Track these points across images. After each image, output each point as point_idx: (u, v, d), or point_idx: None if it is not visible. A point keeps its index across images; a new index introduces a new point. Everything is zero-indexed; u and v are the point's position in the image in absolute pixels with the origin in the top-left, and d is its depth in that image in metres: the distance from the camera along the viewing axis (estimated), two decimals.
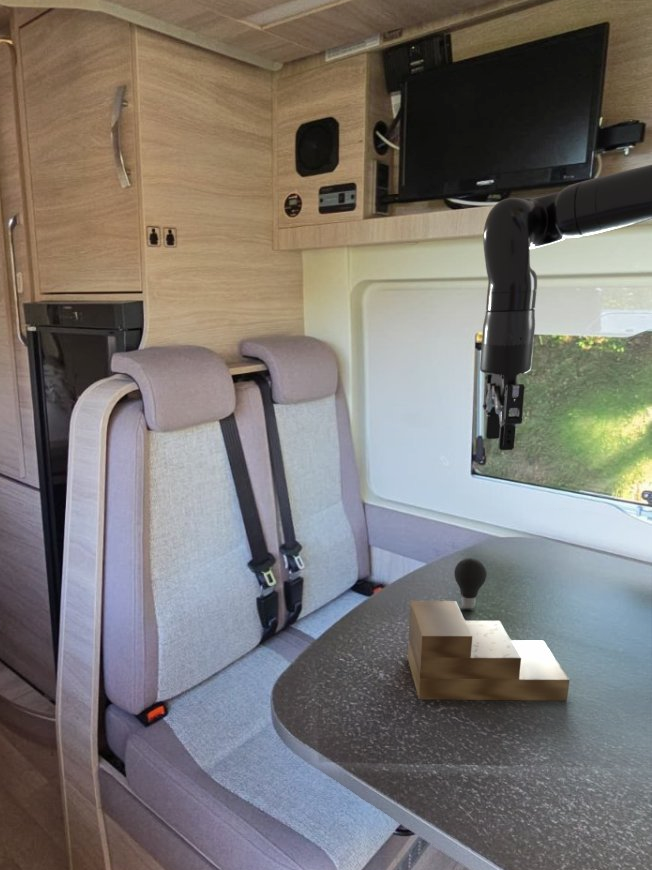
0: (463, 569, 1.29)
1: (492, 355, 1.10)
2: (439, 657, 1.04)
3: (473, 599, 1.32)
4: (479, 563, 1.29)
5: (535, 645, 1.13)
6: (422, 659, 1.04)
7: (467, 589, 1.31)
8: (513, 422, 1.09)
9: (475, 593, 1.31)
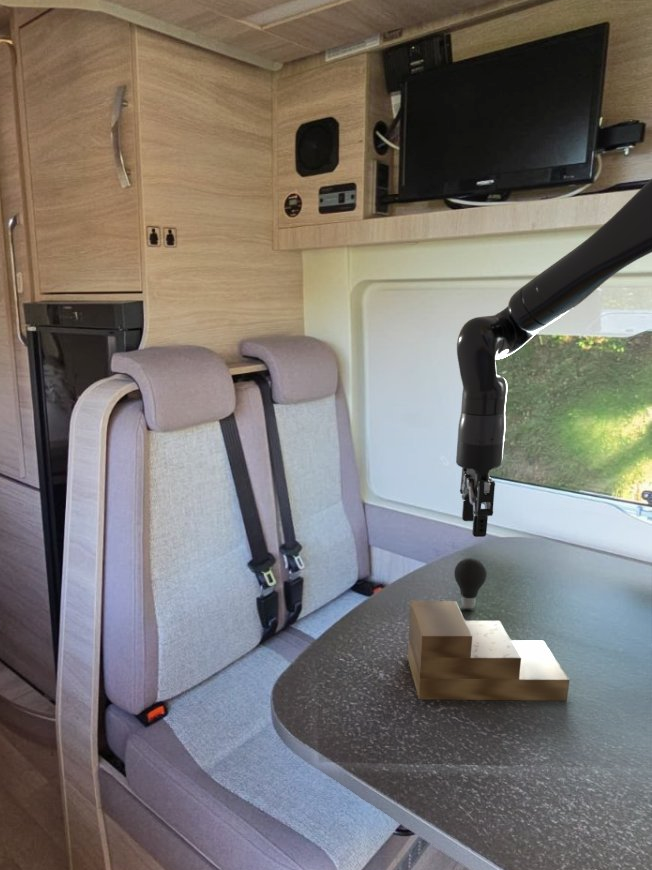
0: (463, 569, 1.29)
1: (467, 452, 1.21)
2: (439, 657, 1.04)
3: (473, 599, 1.32)
4: (479, 563, 1.29)
5: (535, 645, 1.13)
6: (422, 659, 1.04)
7: (467, 589, 1.31)
8: (485, 514, 1.20)
9: (475, 593, 1.31)
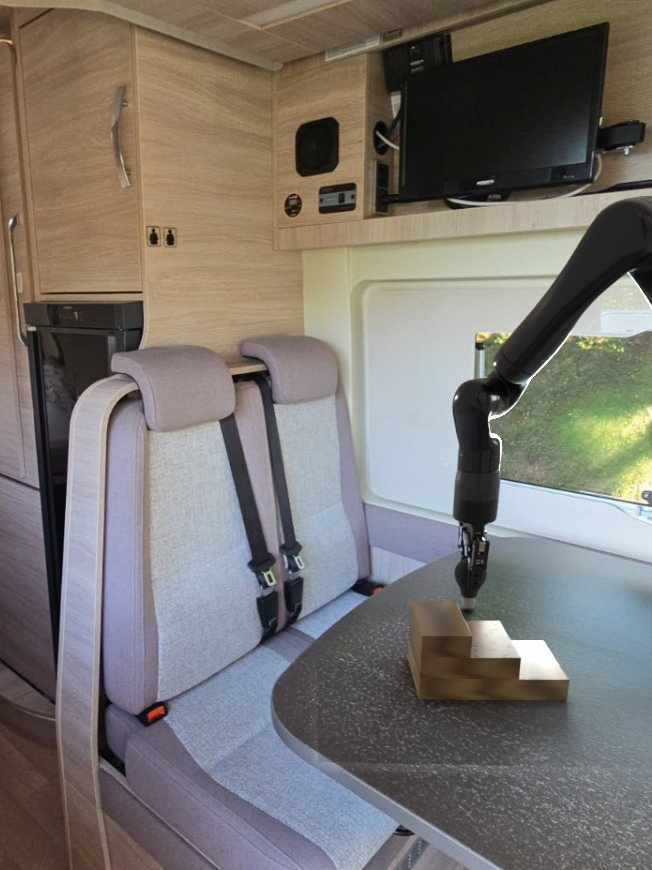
0: (463, 569, 1.29)
1: (463, 508, 1.25)
2: (439, 657, 1.04)
3: (473, 599, 1.32)
4: None
5: (535, 645, 1.13)
6: (422, 659, 1.04)
7: (467, 589, 1.31)
8: (479, 569, 1.25)
9: (475, 593, 1.31)
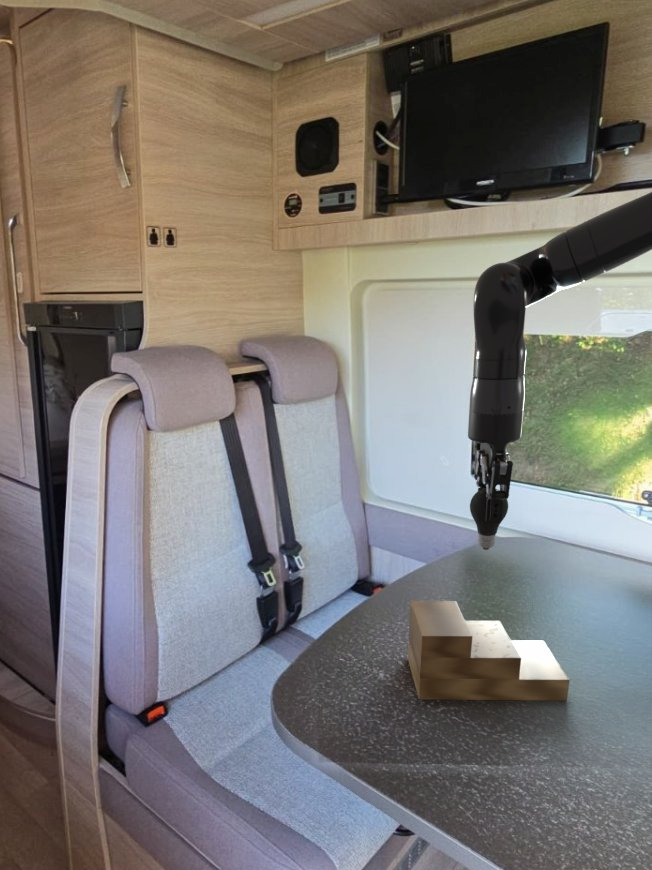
0: (480, 500, 1.09)
1: (480, 424, 1.05)
2: (439, 657, 1.04)
3: (492, 537, 1.12)
4: None
5: (535, 645, 1.13)
6: (422, 659, 1.04)
7: (485, 524, 1.10)
8: (499, 497, 1.05)
9: (495, 529, 1.11)
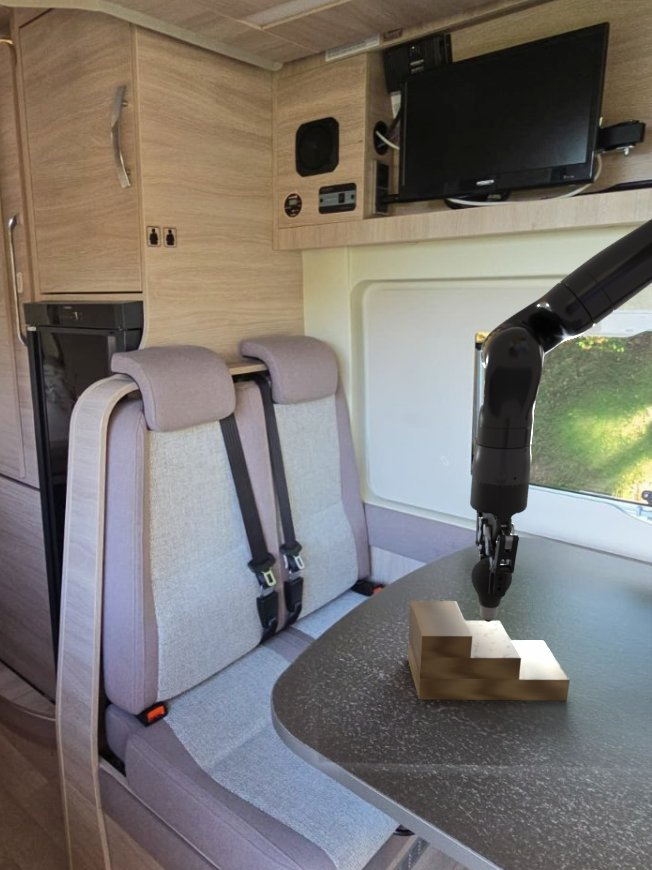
0: (483, 571, 1.03)
1: (484, 494, 0.98)
2: (439, 657, 1.04)
3: (495, 609, 1.05)
4: None
5: (535, 645, 1.13)
6: (422, 659, 1.04)
7: (487, 596, 1.04)
8: (504, 572, 0.98)
9: (498, 601, 1.05)
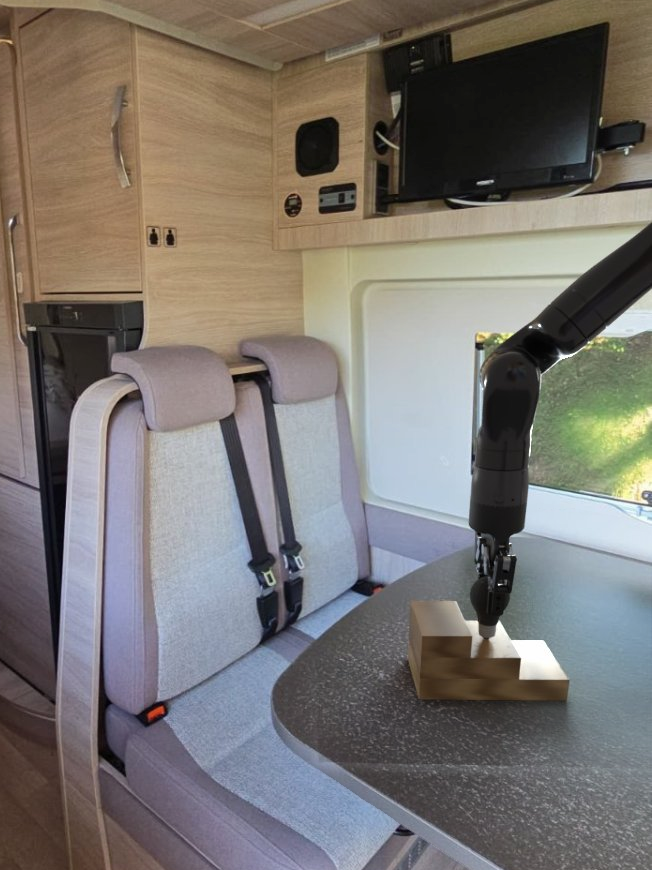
0: (481, 590, 1.04)
1: (482, 515, 0.99)
2: (439, 657, 1.04)
3: (493, 627, 1.06)
4: None
5: (535, 645, 1.13)
6: (422, 659, 1.04)
7: (486, 615, 1.05)
8: (502, 592, 0.99)
9: (496, 619, 1.06)
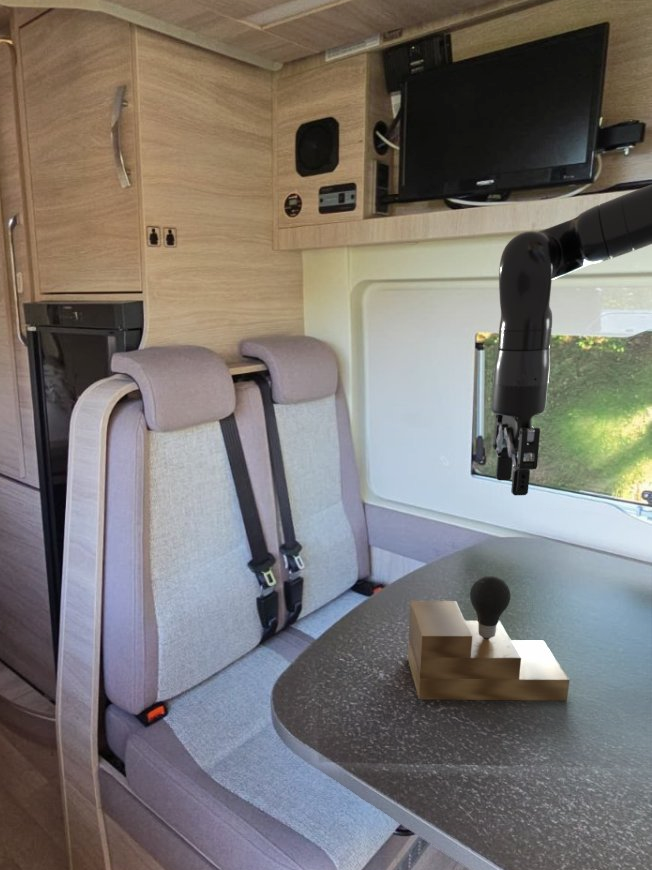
0: (482, 590, 1.04)
1: (505, 396, 1.04)
2: (439, 657, 1.04)
3: (493, 627, 1.06)
4: (502, 583, 1.04)
5: (535, 645, 1.13)
6: (422, 659, 1.04)
7: (486, 615, 1.05)
8: (528, 467, 1.03)
9: (496, 619, 1.06)
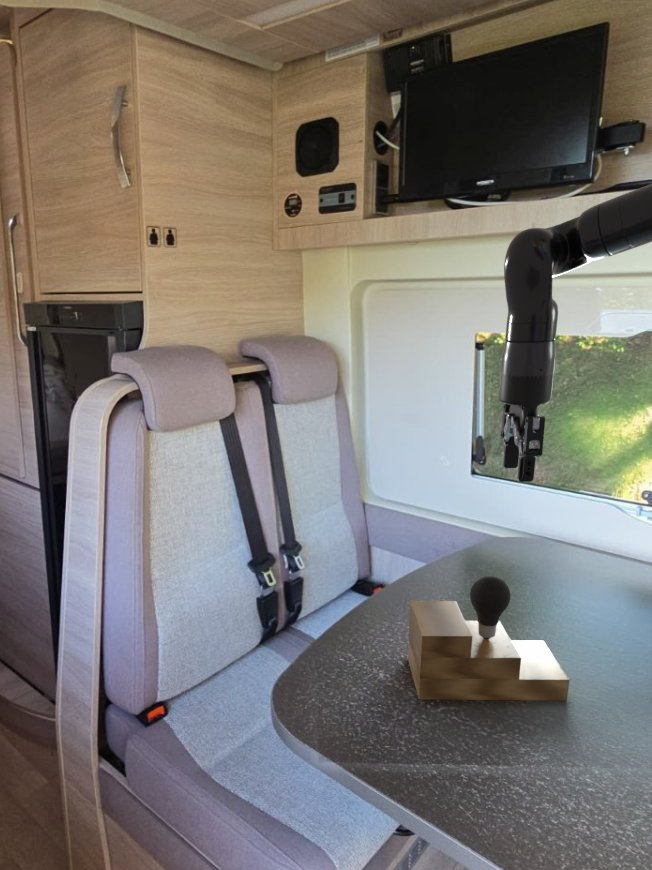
0: (482, 590, 1.04)
1: (512, 386, 1.08)
2: (439, 657, 1.04)
3: (493, 627, 1.06)
4: (502, 583, 1.04)
5: (535, 645, 1.13)
6: (422, 659, 1.04)
7: (486, 615, 1.05)
8: (533, 454, 1.07)
9: (496, 619, 1.06)
